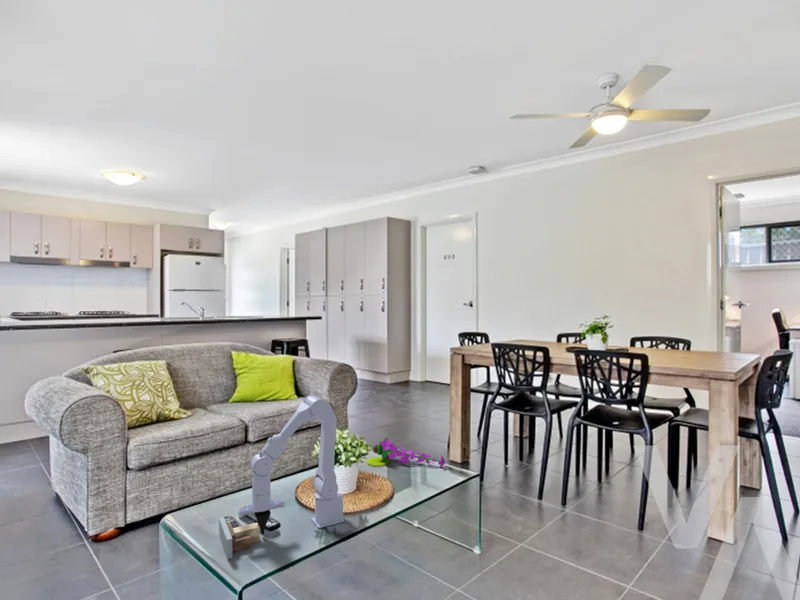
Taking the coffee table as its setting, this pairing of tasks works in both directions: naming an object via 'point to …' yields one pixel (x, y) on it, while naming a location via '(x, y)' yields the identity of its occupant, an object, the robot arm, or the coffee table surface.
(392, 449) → the purple flowers
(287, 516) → the coffee table surface
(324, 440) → the robot arm
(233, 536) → the brown u-shaped bracket
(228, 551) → the backstop wall
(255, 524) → the cream wooden bar
